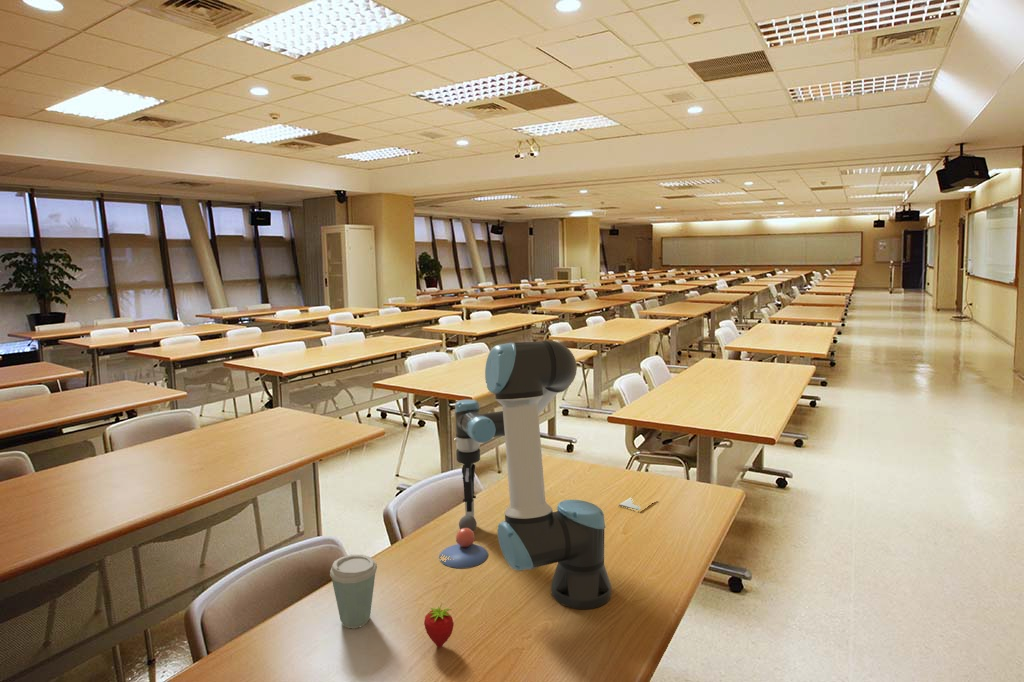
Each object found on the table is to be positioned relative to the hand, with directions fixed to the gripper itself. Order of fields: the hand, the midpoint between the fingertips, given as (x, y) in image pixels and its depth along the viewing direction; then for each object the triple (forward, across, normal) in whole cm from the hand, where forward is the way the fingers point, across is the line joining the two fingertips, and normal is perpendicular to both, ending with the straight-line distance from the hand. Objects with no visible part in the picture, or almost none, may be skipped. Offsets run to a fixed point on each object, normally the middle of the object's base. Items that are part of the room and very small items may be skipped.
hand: (470, 519), depth 187 cm
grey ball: (-1, +6, 0) cm, 6 cm away
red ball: (-1, +14, 0) cm, 14 cm away
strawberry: (+2, +60, -1) cm, 60 cm away
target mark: (+2, +20, 0) cm, 20 cm away
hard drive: (+3, -16, +57) cm, 59 cm away
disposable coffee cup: (+2, +51, -22) cm, 56 cm away
